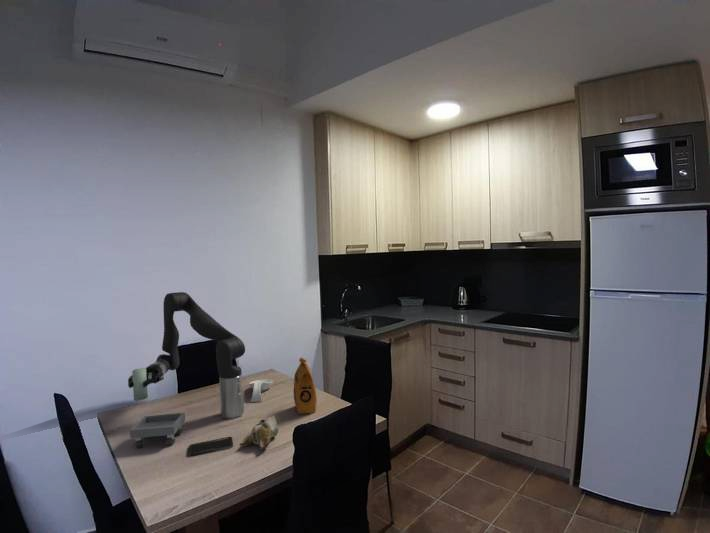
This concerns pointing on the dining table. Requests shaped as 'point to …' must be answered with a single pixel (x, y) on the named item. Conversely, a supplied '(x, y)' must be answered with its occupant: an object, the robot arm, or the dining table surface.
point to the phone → (210, 446)
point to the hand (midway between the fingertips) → (137, 385)
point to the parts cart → (158, 427)
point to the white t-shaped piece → (259, 388)
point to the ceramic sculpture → (262, 433)
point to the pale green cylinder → (139, 384)
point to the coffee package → (304, 389)
